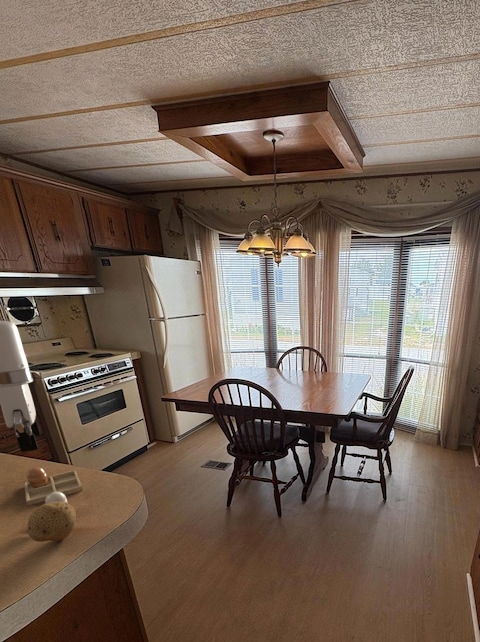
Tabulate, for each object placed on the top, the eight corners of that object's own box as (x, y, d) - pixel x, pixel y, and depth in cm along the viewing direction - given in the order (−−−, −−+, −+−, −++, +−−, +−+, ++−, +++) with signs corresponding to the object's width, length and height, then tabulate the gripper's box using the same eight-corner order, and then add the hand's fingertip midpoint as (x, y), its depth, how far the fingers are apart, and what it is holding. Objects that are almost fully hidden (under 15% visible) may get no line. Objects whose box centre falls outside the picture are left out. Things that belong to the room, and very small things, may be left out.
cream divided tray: (28, 506, 93) (26, 501, 92) (25, 487, 101) (24, 482, 101) (83, 491, 100) (81, 486, 100) (76, 474, 109) (75, 469, 109)
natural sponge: (49, 558, 76) (36, 521, 72) (25, 546, 79) (11, 510, 75) (89, 534, 83) (79, 499, 80) (66, 524, 87) (55, 490, 83)
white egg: (53, 520, 88) (46, 499, 85) (47, 514, 90) (40, 493, 88) (72, 513, 91) (66, 492, 88) (67, 506, 93) (60, 486, 91)
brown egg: (27, 491, 99) (20, 472, 96) (35, 484, 103) (29, 465, 100) (45, 490, 100) (38, 471, 97) (52, 482, 104) (46, 464, 101)
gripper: (-5, 370, 84) (16, 434, 91) (-19, 387, 71) (7, 460, 78) (34, 367, 88) (51, 429, 95) (27, 383, 75) (48, 453, 82)
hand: (31, 443), depth 86 cm, fingers open, 9 cm apart
